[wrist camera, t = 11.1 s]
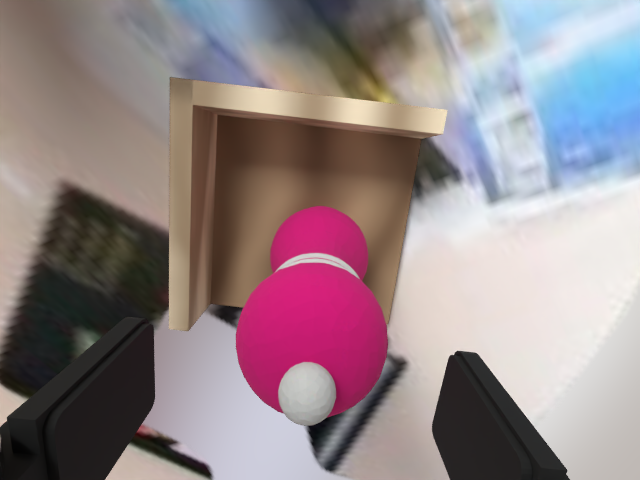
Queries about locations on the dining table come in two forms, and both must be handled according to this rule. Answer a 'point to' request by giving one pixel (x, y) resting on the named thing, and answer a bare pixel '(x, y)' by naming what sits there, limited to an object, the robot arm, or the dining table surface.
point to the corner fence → (200, 163)
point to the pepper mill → (313, 320)
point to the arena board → (305, 197)
